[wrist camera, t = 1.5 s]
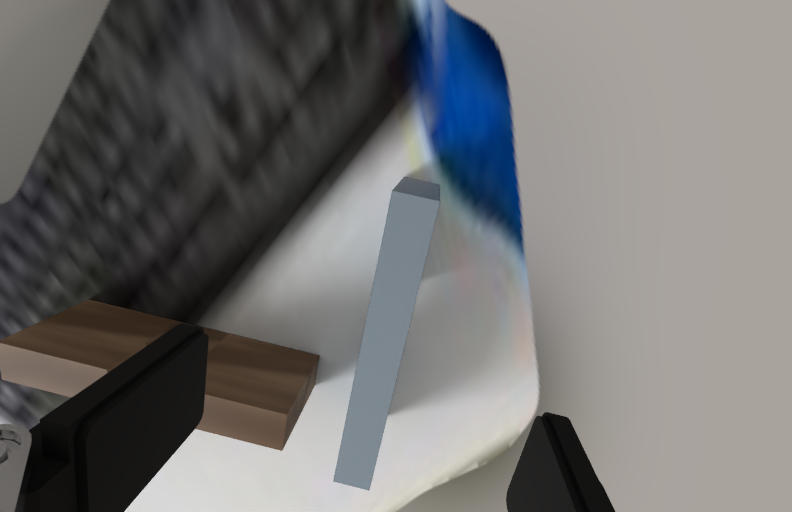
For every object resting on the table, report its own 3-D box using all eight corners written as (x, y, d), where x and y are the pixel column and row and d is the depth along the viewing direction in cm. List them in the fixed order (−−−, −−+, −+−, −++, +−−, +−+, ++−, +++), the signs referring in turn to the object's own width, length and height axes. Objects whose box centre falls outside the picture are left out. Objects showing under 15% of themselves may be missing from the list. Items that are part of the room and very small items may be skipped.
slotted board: (88, 299, 32) (-4, 342, 25) (319, 355, 31) (287, 414, 24) (90, 330, 33) (2, 379, 26) (314, 385, 32) (282, 450, 25)
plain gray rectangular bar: (404, 177, 26) (392, 190, 20) (439, 184, 26) (439, 201, 19) (354, 410, 32) (333, 481, 26) (383, 417, 32) (369, 490, 26)
